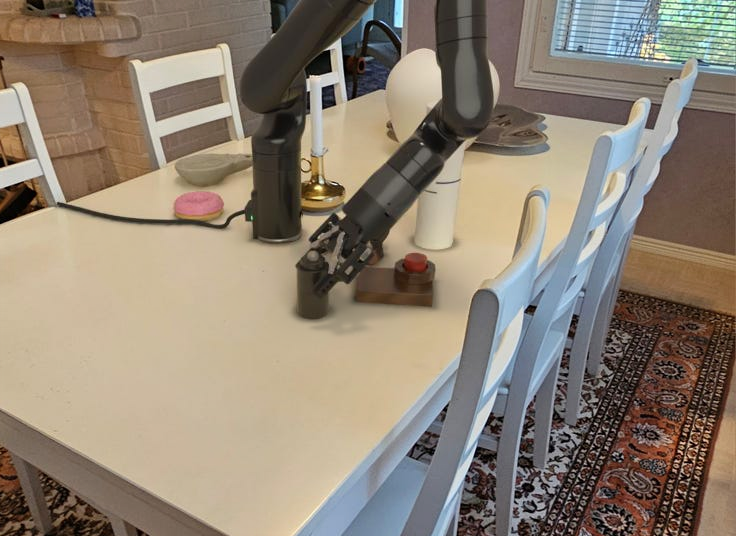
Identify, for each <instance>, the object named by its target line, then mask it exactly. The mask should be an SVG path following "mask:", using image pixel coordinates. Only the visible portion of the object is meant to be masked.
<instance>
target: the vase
mask: <svg viewBox="0 0 736 536" xmlns="http://www.w3.org/2000/svg"><path fill="white" fill-rule="evenodd" d="M488 61H489V65H490V71H491V77H492V84H493V92H494V108H495V107H496V105H497V102H498V99H499V96H500V89H501V88H500V87H501V86H500V85H501V84H500V78H499V77H500V76H499V74H498V71H497V69H496V67H495V65H494V64H493V63H492V62H491V60H490V59H488ZM441 98H442V83H441V70H440V68H439V67H438V65H437V62H436V56H435V50H433V49H430V48H425V47H424V48H419V49H415V50H413V51H411V52H409V53H408V54H405V56H403V57H401V59H400V60H399V61H398V62H397V63H396V64H395V65H394V67H393V68H392V69H391V71H390V72H389V75H388V77H387V80H386V85H385V102H386V108H387V112H388V115H389V116H388V117H389V119H390V120H389V121H390V123H391V126H392V130H393V133H394V135H395V137H396V139H397V141H398V143H399V144H400V146H401V145H402V144H403V143H404V142H405V141H406V140H407V139H408V138H409V137H410V136H411V135H412V134H413V133H414V132H415V130H416V129H417V127H418V126H419V125H420V123H421V122H422V121H423V119H424V118H425V117H426V111H427V104H429V103H431V102H436V101H439V100H440V99H441ZM478 137H479V135H478V136H477V137H474V138H471V139H467V140H466V143H465V150H467V149H468V148H470V146H471V145H472V144H474V142H475V141H476V140H477V138H478Z"/></svg>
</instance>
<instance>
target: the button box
mask: <svg viewBox="0 0 736 536" xmlns="http://www.w3.org/2000/svg"><path fill="white" fill-rule="evenodd" d="M404 259H405V257H404V258H401V259H398V261H396V262H395V263H394V267H376V266H365V267H364V268H363V269H362V270H361V271H360V272H359V274H358V280H357V285H356V290H355V303H363V304H378V305H379V304H380V305H391V306H392V305H394V306H409V307H427V308H431V307H433V299H434V280H435V277H436V275H435V274H436V264H435V262H432V260H429V259H427V265H426V270H424V271H419V272H416V271H409V270H406V269H404Z"/></svg>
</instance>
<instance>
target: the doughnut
mask: <svg viewBox="0 0 736 536" xmlns="http://www.w3.org/2000/svg"><path fill="white" fill-rule="evenodd" d="M224 206H225V202H224V199H223V198H222V197H221V195H219V194H218V193H215V192H212V191H209V190H208V191H204V190H198V191H196V190H195V191H189V192H187V193H183V194H181V195H179V196H178V197H177V198H176V199H175V200H174V203H173V207H172V210H173V211H174V214H175V216H176V217H178V218H179V219H187V220H199V221H203V222H208V221H211V220H214V219H216V218H218V217H219V216H220V215H221V214H222V213H223V211H224Z"/></svg>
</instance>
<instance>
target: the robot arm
mask: <svg viewBox="0 0 736 536" xmlns="http://www.w3.org/2000/svg"><path fill="white" fill-rule="evenodd" d="M376 2H377V0H298V2H297V3H296V4H295V6H294V7H293V8H292V10H291V11H290V12H289V14H288V16H287V17H286V19H285V20H284V22H283V23H282V24H281V26H280V27H279V28H278V30H276V32H275V33H274V34H273V35H272V37H271V38H270V39H269V40H268V41H267V42H266V43H265V44H264V45H263V47H261V49H260V50H259V51H258V52H257V53H256V54H255V55H254V56H253V57H252V58H251V59H250V60H249V61H248V63H247V64H246V66H244V69H243V70H242V73H241V75H240V78H239V86H238V91H239V96H240V100H241V102H242V105H244V107H245V108H246V109H247V110H248V111H250V112H251V113H254V114H257V115H262V117H261V120H260V122H259V124H258V125H257V126H256V128H255V129H254V130H253V132H252V133H251V137H250V138H251V139H250V141H251V142H250V145H251V147H250V148H251V154H252V186H253V189H252V190H251V192H250V199H249V200H248V201H247V203H246V204H245V206H244V208H243V209H241V210H239V211H236V212H234V213H232V214H230V215H228V217H227V218H226V219H225V222H224V223H222V224H214V223H210V222H208V221H199V220H187V219H180V218H179V219H178V218H177V219H158V218H138V217H129V216H121V215H115V214H109V213H104V212H99V211H95V210H92V209H88V208H85V207H81V206H77V205H74V204H69V203H64V202H60V201H57V202H56V206H59V207H61V208H62V207H63V208H66V209H70V210H73V211H78V212H80V213H81V212H82V213H85V214H89V215H92V216H97V217H101V218H106V219H111V220H116V221H122V222H129V223H130V222H131V223H139V224H141V223H143V224H164V225H166V224H167V225H168V224H169V225H171V224H173V225H174V224H175V225H178V224H180V225H181V224H182V225H183V224H187V225H188V224H189V225H198V226H203V227H206V228H211V229H217V230H222V229H226V228H227V227H228V226H229V225H230V223H231V222H232V220H233V219H235V218H237V217H239V216H242V215H244V221H245V222H248V223H249V222H250V223H251V226H252V240H256V241H257V240H258V241H260V242H263V243H267V244H277V245H278V244H287V243H292V242H294V241H297V240H299V239H300V238H301V237H302V236H303V228H302V227H303V223H302V219H304V211H303V208H302V139H303V136H304V133H305V130H306V124H307V123H306V122H307V106H308V105H307V103H308V79H307V75H306V71H305V68H306V67H307V66H308V65H309V64H310V63H311V62H312V61H313V60H314V59H315V58H316V57H318V56H319V55H320V54H322V53H323V52H324V51H325V50H327V49H328V48H330V47H331V46H333V45H334V44H335V43H336V42H338V41H339V40H340V39H341V38H342V37H344V36H345V35H346V34H347V33H348V32H349V31H350V30H352V29H353V28H354V27H355V26H356V25H357V24H358V23H359V22H360V21H361V20H362V19H363V18H364V16H365V15H366V14H367V13H368V11H369V10H370V9H371V8H372V7H373V5H374V4H375V3H376ZM488 17H489V15H488V0H434V6H433V34H434V35H433V36H434V52H435V56H436V62H437V65H438V67H439V68H440V70H441V83H442V98H441V99H440V100H439V101H438V102H437V104H436V105H435V106H434V107H433V108H432V109H431V111H430V112H429V113H428V114H427V116H426V117H425V118H424V119H423V121H422V122H421V123H420V125H419V126H418V127H417V129H416V130H415V132H414V133H413V134H412V135H411V136H410V137H409V138H408V139H407V140H406V141H405V142H404V143H403V144H402V145H401V144H400V146H399V147H398V148H397V149H396V150H395V151H394V152H393V153H392V155H390V157H389V158H387V160H386V161H385V162H384V163H383V164H382V165H381V166H380V167H379V168H378V169H376V170H375V171H374V172H373V173H372V174H371V175H370V176H369V177H368V179H367V180H365V181H364V183H363V184H362V185H361V186H360V187H359V188H358V190H357V191H356V192H355V193H354V194H353V195H352V196H351V197H350V198H349V200H348V201H347V202H346V203H345V204H344V205H343V206H342V208H341V211H342V213H343V214H344V215H345V216H344V217H343V218H342V217H340V216H339V215H338V214H337V213H336V212H332V213H331V214H330V215H329V217H327V218H326V219H325V221H324V222H323V223H321V225H320V226H319V227H318V228H317V229H316V230H315V231H314V232H313V233H312V234H311V235H310V236H309V238H308V241H309V243H310V244H309V247H308V248H309V249H308V250H307V252H305V253H304V254H303V256H305V255H307V254H308V253H309V252H310V251H316V252H317V253H318V254H319V255H322V256H324V257H325V256H326V255H328V254H331V264H330V265H329V270H328V273H327V272H326V273H325V274H324V275H323V276H322V277H321V278H320V279H319V280H318V281H317V282H316V284H315V285H314V286H313V287H312V288H311V292H312V293H313V294H314V295H315V296H317V297H318V298H319V299H321V298H323V297H324V296H325V295H326V294H327V293H328V292H329V293H330V291H331V290H332V289H333V288H334V287H335V286H336V285H337V284H338V283H344V284H345V285H349V284H351V283H352V282H353V281H354V279H355V278H356V277H357V276H359V273H360V271H361V270H362V269H363V268H364V267H367V265H368V264H369V263H368V262H369V261H370V260H371V259H372V258H373V256H374V252H373V251H371V250H372V249H371V248H370V247H368V243H370V240H373V241H375V242H378V241H380V240H381V239H382V238H383V237H384V236H385V234H386V233H387V232H388V231H389V230H390V231H391V229H392V228H393V227H395V225H396V224H397V223H398V222H399V221H400V220H401V219H402V218H403V217H404V216H405V215H406V213H407V212H408V211H409V210H410V209H411V207H412V206H414V203H416V201H418V197H419V196H420V194H422V193H423V191H424V190H425V189H426V188H427V187H428V186H429V185H430V184H431V183H432V182H433V181H434V180H435V179H436V177H437V176H438V175H439V174H440V173H441V171H442V170H443V168H444V165H445V162H446V161H447V160H448V159H449V158H450V156H451V155H452V154H453V153H454V152H455V151H456V150H457V149H458V148H459V147H460V146H461V145H462V144H463V143H464V142H465V141H466V140H467V139H471V138H474V137H477V136H478V137H479V136H480V135H482V134H483V133H484V132H485V131H486V130H487V129H488V127H489V126H490V124H491V122H492V120H493V115H494V109H495V107H494V92H493V84H492V77H491V71H490V65H489V61H490V60H489V55H488V49H489V48H488V47H489V39H488V38H489V21H488V20H489V18H488ZM488 60H489V61H488ZM478 137H477V138H478ZM299 261H300V259H299V260H298V262H299ZM298 262H297V263H298ZM297 263H295V264H294V267H295V269H296V270H297ZM349 270H351V271H350V272H349ZM348 272H349V273H348Z"/></svg>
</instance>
